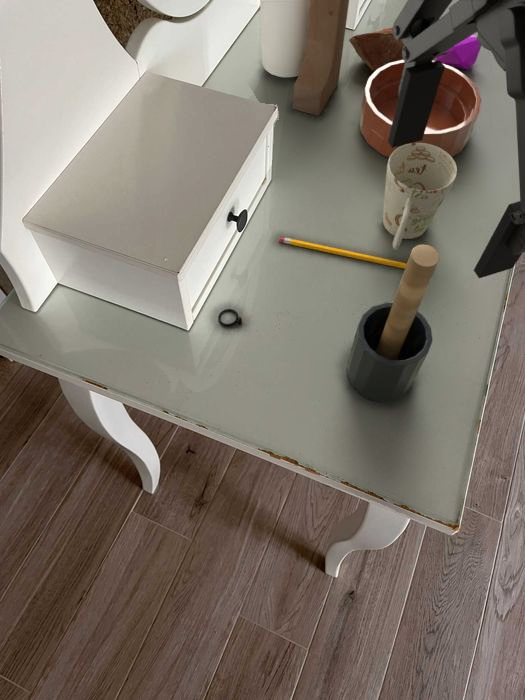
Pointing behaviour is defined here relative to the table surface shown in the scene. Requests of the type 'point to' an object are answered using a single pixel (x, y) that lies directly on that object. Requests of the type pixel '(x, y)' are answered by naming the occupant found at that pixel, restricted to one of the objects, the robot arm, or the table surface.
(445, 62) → the crystal
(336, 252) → the pencil
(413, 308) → the stirring stick
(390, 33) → the fossil
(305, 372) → the table surface
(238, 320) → the ring
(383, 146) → the bowl
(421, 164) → the mug
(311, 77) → the wooden block
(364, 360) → the utensil pot
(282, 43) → the cup
